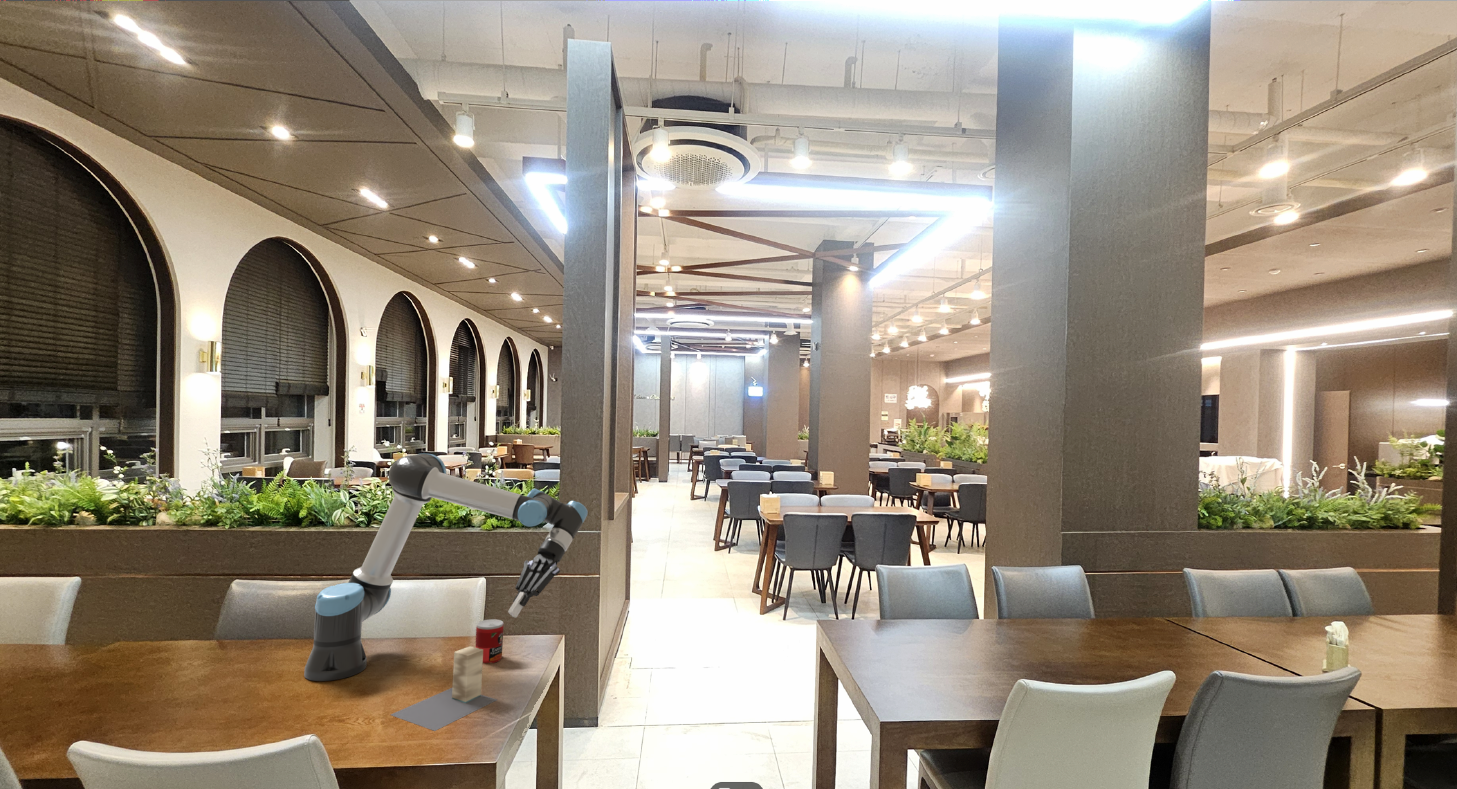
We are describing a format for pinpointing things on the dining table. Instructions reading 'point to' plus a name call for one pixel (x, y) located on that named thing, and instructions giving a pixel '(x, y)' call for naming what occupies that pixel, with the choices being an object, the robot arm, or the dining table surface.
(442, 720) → the mat
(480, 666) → the beech block
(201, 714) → the dining table surface
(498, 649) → the canned food
